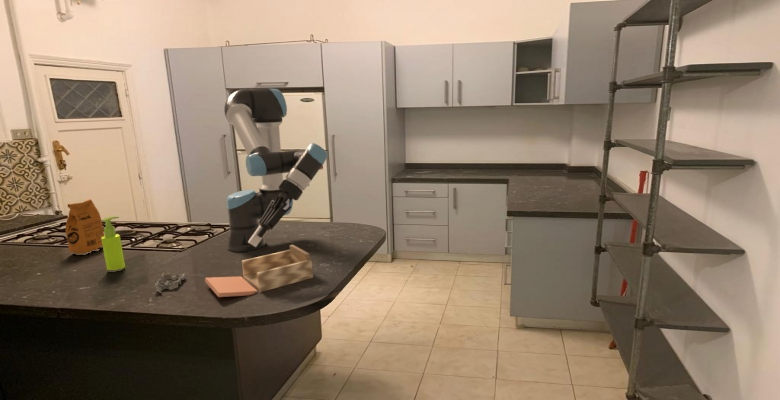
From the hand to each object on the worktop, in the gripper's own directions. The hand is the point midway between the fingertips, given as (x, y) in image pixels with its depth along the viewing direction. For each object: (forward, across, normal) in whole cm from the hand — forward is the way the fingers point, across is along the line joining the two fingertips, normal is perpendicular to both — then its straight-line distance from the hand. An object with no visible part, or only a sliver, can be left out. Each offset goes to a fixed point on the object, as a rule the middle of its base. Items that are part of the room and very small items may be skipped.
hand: (251, 244), depth 144 cm
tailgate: (+11, 0, -7) cm, 13 cm away
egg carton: (+26, +18, +8) cm, 32 cm away
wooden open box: (+5, 0, -15) cm, 16 cm away
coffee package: (+41, +85, +27) cm, 98 cm away
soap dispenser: (+35, +50, +19) cm, 64 cm away
